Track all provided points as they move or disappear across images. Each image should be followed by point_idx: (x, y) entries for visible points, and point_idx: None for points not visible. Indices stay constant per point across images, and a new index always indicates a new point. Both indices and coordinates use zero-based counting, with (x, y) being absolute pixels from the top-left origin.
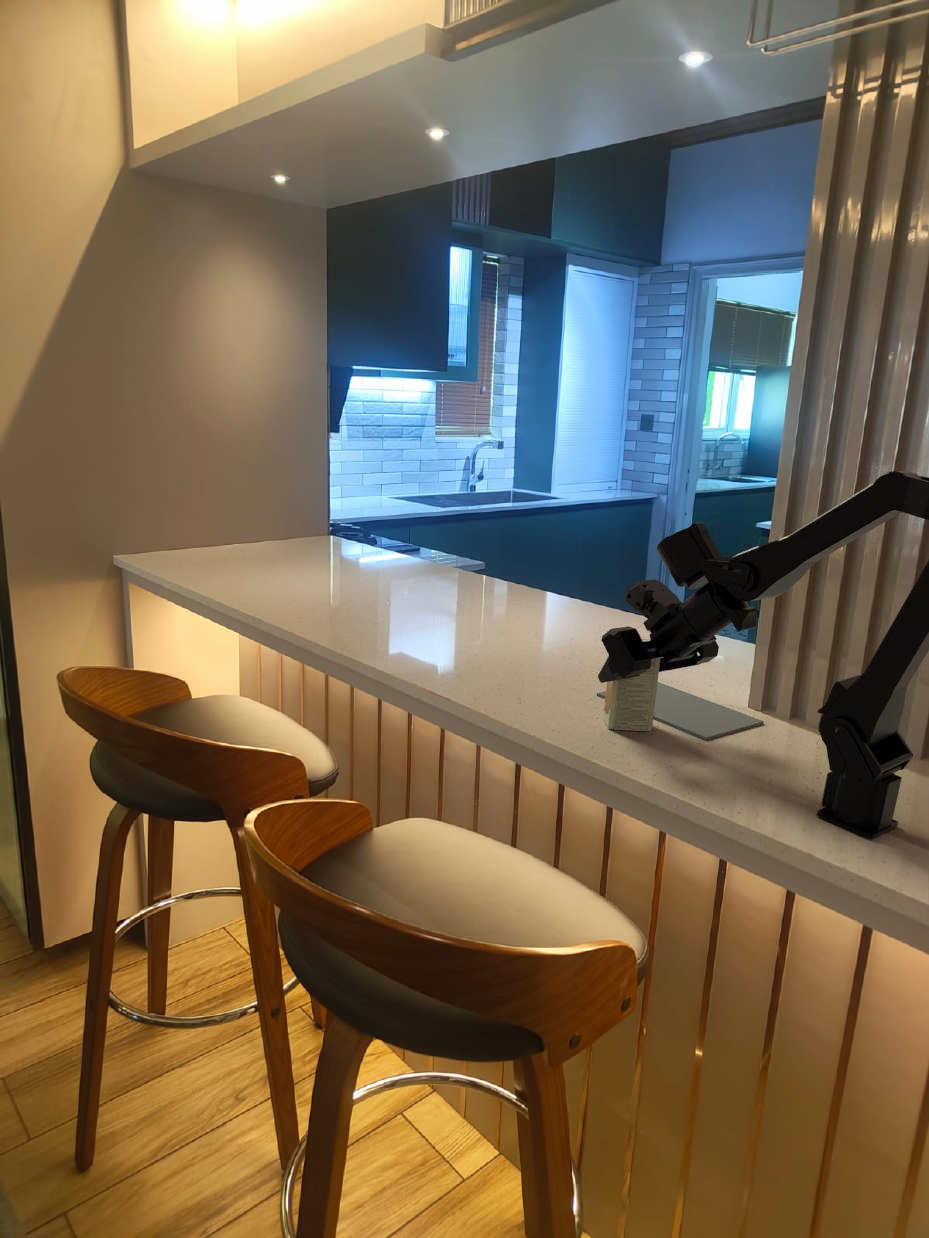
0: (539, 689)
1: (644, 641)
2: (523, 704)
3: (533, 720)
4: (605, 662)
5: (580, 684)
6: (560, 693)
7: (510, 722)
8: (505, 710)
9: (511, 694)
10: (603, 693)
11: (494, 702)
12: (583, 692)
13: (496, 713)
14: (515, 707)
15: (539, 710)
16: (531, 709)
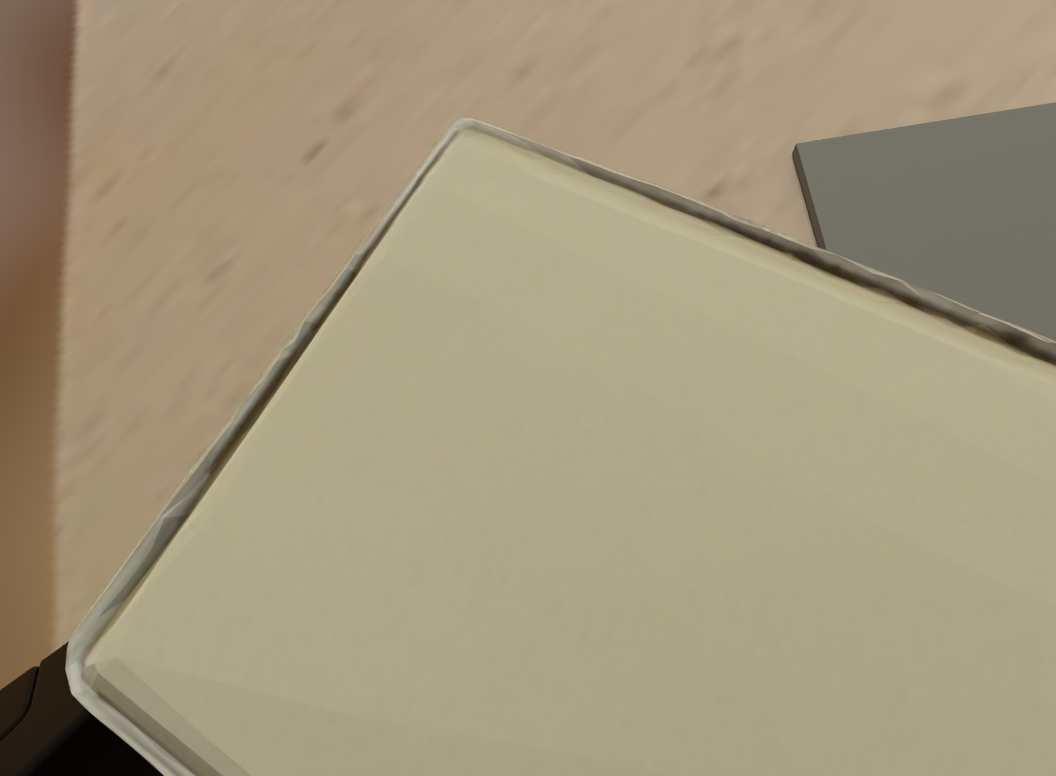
0: (535, 25)
1: (1022, 723)
2: (315, 172)
3: (202, 361)
4: (49, 661)
5: (808, 3)
6: (604, 88)
7: (85, 350)
8: (180, 216)
9: (356, 54)
10: (829, 159)
11: (209, 121)
12: (744, 100)
13: (115, 237)
14: (251, 195)
15: (329, 257)
16: (302, 236)
